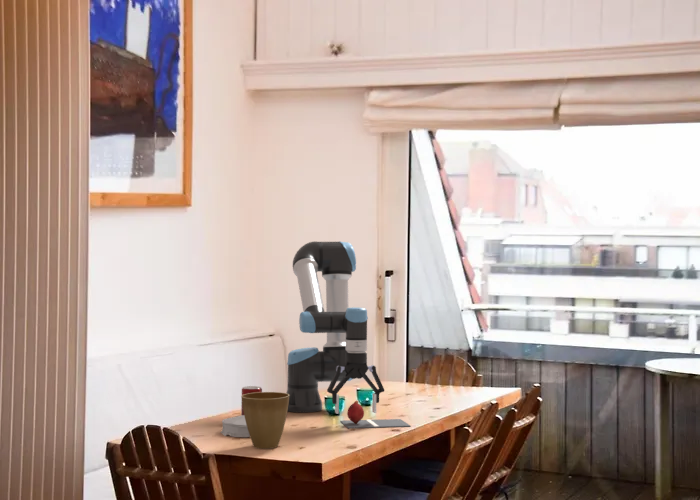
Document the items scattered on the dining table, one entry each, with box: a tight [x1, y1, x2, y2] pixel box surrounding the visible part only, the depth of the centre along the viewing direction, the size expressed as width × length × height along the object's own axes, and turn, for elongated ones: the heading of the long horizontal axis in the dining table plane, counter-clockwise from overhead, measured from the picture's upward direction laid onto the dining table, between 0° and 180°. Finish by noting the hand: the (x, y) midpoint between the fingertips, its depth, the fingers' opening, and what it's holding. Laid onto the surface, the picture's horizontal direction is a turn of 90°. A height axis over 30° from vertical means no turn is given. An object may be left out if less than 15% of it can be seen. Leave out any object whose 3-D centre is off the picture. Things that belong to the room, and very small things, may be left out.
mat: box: [340, 418, 412, 430], centre depth 352 cm, size 22×14×1 cm, turn 102°
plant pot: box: [240, 391, 289, 450], centre depth 310 cm, size 15×15×16 cm
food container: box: [219, 415, 250, 438], centre depth 334 cm, size 20×20×7 cm
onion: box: [346, 400, 365, 424], centre depth 350 cm, size 6×6×8 cm
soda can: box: [240, 385, 263, 416], centre depth 356 cm, size 7×7×12 cm
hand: (355, 412), depth 350 cm, fingers open, 13 cm apart
